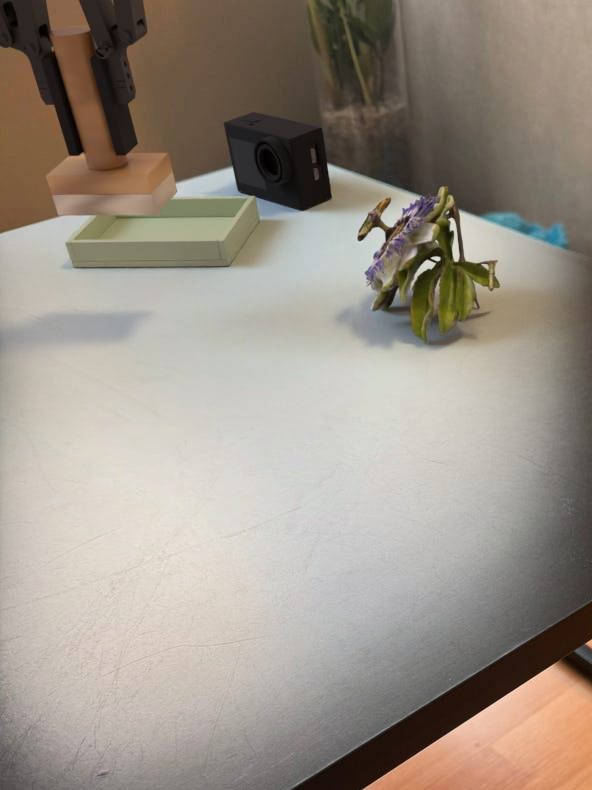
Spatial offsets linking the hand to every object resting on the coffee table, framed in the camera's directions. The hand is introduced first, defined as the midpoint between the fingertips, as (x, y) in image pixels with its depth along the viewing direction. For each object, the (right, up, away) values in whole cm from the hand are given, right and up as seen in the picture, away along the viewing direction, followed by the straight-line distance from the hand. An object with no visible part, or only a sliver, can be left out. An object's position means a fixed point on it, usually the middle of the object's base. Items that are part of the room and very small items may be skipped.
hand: (103, 149), depth 77 cm
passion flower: (+25, -10, +7) cm, 28 cm away
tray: (-2, +1, +21) cm, 21 cm away
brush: (0, -3, +3) cm, 4 cm away
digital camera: (+8, +9, +29) cm, 31 cm away
